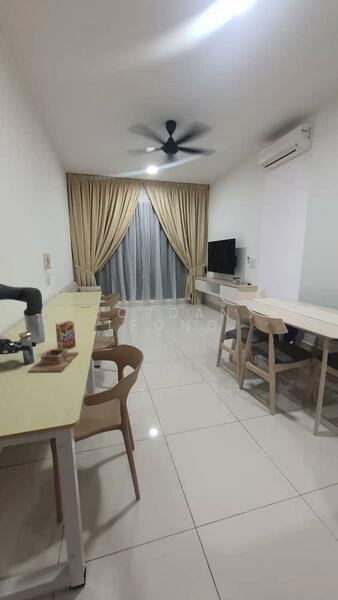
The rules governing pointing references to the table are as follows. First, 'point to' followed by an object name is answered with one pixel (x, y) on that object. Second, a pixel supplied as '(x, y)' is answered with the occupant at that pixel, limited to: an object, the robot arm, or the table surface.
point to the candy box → (65, 335)
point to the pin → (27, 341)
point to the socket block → (54, 361)
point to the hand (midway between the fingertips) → (32, 346)
